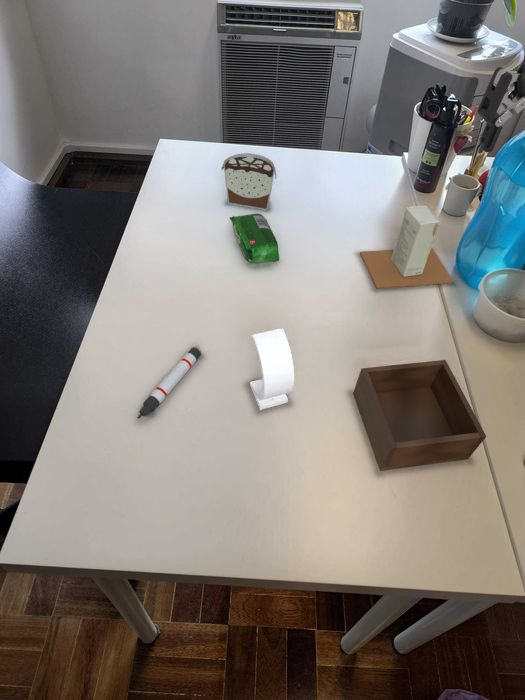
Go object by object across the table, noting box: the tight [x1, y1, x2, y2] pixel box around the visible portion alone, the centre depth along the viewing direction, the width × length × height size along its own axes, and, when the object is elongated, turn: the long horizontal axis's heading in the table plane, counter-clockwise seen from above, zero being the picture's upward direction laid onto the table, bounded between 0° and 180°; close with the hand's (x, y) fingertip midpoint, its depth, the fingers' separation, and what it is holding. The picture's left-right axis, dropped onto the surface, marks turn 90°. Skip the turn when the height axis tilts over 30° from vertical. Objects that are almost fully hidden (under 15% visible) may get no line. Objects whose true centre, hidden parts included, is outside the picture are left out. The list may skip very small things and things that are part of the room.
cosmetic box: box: [391, 205, 442, 277], centre depth 92 cm, size 6×4×12 cm
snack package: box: [229, 212, 280, 265], centre depth 97 cm, size 7×16×5 cm, turn 17°
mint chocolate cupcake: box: [221, 152, 277, 211], centre depth 107 cm, size 12×6×10 cm, turn 77°
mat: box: [359, 247, 454, 290], centre depth 97 cm, size 16×11×1 cm
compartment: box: [352, 359, 487, 472], centre depth 70 cm, size 14×14×7 cm
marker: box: [137, 346, 202, 420], centre depth 74 cm, size 15×2×2 cm, turn 151°
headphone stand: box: [249, 327, 295, 411], centre depth 70 cm, size 5×6×12 cm
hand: (512, 148), depth 68 cm, fingers open, 8 cm apart
